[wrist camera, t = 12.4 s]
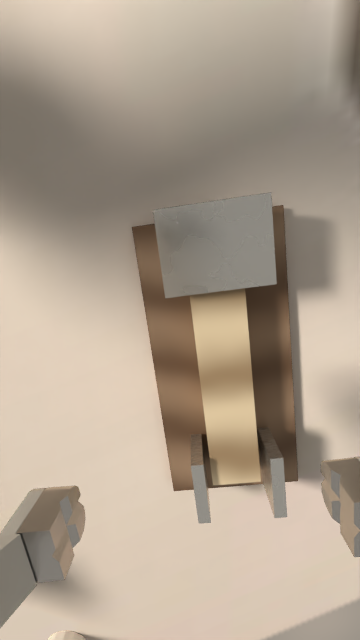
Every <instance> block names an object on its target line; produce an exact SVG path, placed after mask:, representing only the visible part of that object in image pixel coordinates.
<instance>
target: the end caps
mask: <svg viewBox="0 0 360 640" xmlns="http://www.w3.org/2000/svg"><path fill="white" fill-rule="evenodd" d="M153 215H154V222H155V229H156V236H157V243H158V250H159V257H160V264H161V271H162V278H163V285H164V292H165V298H172V297H180V296H187V295H195V294H203V293H211V292H219V291H227V290H235V289H242V288H250V287H258V286H266V285H274V284H277V280H276V264H275V247H274V231H273V214H272V198H271V192H270V193H264V194H257V195H250V196H243V197H237V198H230V199H223V200H217V201H210V202H203V203H196V204H190V205H183V206H176V207H170V208H163V209H156V210H153ZM257 429H258V441H259V452H260V464H261V476H262V482H263V485H264V488H265V491H266V494H267V497H268V500H269V503H270V506H271V509H272V512H273V515H274V518H281V517H287V508H286V492H285V477H284V461H283V456H282V454H281V452H280V450H279V448H278V446H277V444H276V442H275V440H274V438H273V436H272V433H271V431H270V429H269V427H265V428H257ZM191 472H192V479H193V486H194V493H195V500H196V507H197V514H198V521H199V523H211V518H210V505H209V493H208V482H207V474H206V466H205V458H204V451H203V443H202V435H201V434H191Z"/></svg>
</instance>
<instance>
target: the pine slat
mask: <svg viewBox="0 0 360 640" xmlns="http://www.w3.org/2000/svg"><path fill="white" fill-rule="evenodd" d="M190 303H191V311H192V319H193V327H194V335H195V343H196V351H197V359H198V368H199V376H200V384H201V392H202V400H203V408H204V416H205V424H206V432H207V441H208V449H209V457H210V465H211V473H212V481H213V485H226V484H238V483H251V482H261V476H260V464H259V452H258V440H257V428H256V416H255V403H254V391H253V379H252V367H251V355H250V343H249V331H248V319H247V306H246V294H245V288H242V289H235V290H227V291H219V292H211V293H203V294H195V295H190Z"/></svg>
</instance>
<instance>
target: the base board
mask: <svg viewBox="0 0 360 640" xmlns="http://www.w3.org/2000/svg"><path fill="white" fill-rule="evenodd" d="M272 214H273V231H274V247H275V264H276V280H277V284H274V285H266V286H258V287H250V288H245V294H246V306H247V319H248V331H249V343H250V355H251V367H252V379H253V391H254V403H255V416H256V428H265V427H269V429H270V431H271V433H272V436H273V438H274V440H275V442H276V444H277V446H278V448H279V450H280V452H281V454H282V456H283V461H284V477H285V482H292V481H298V471H297V452H296V433H295V415H294V396H293V377H292V358H291V339H290V321H289V302H288V283H287V264H286V245H285V227H284V208H283V205H281V206H274V207H272ZM132 230H133V237H134V243H135V249H136V256H137V262H138V268H139V274H140V281H141V287H142V293H143V300H144V306H145V312H146V319H147V325H148V331H149V337H150V344H151V350H152V356H153V363H154V369H155V375H156V381H157V388H158V394H159V400H160V407H161V413H162V419H163V425H164V432H165V438H166V444H167V451H168V457H169V463H170V470H171V476H172V482H173V488H174V491H180V490H193V489H194V486H193V479H192V472H191V434H201V435H202V443H203V451H204V458H205V466H206V474H207V482H208V488H218V487H230V486H242V485H255V484H263V482H262V476H261V464H260V452H259V441H258V452H259V464H260V476H261V482H251V483H238V484H226V485H213V481H212V473H211V465H210V457H209V449H208V441H207V432H206V424H205V416H204V408H203V400H202V392H201V384H200V376H199V368H198V359H197V351H196V343H195V335H194V327H193V319H192V311H191V303H190V295H187V296H180V297H172V298H165V292H164V285H163V278H162V271H161V264H160V257H159V250H158V243H157V236H156V229H155V224H150V225H143V226H136V227H132ZM257 440H258V429H257Z"/></svg>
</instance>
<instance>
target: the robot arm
mask: <svg viewBox="0 0 360 640" xmlns="http://www.w3.org/2000/svg"><path fill="white" fill-rule="evenodd" d="M321 473H322V474H323V476H324V477H325V479H324V480H323V482H322V483H321V486H322V494H323V498H324V502H325V505H326V507H327V509H328V511H329V513H330V515H331V517H332V518H333V519H334V520H335V521H337V522H338V523H340V531H341V535H342V536H343V538H344V540H345V542H346V543H347V545H348V547H349V549H350V550H351V552H352V554H353V556H354V557H360V457H354V458H344V459H335V460H326V461H322V462H321ZM79 497H80V492H79V488H78V487H77V486H63V487H49V488H40V489H33V490H31V491H30V492H29V493H28V494H27V496H26V497H25V498H24V500H23V501H22V503H21V504H20V506H19V507H18V508H17V510H16V511H15V513H14V514H13V516H12V517H11V519H10V520H9V521H8V523H7V524H6V526H5V527H4V529H3V530H2V531H1V533H0V628H1V627H2V626H3V625H4V623H5V622H6V621H7V620H8V619H9V617H10V616H11V615H12V614H13V613H14V611H15V610H16V609H17V608H18V607H19V606H20V604H21V603H22V602H23V601H24V600H25V598H26V597H27V596H28V595H29V594H30V593H31V591H32V590H33V589H34V588H35V587H36V585H37V584H36V583H42V582H50V581H59V580H65V578H66V575H67V573H68V570H69V568H70V565H71V563H72V560H73V557H74V552H73V547H74V546H75V545H76V544H77V543H78V542H79V541H80V539H81V537H82V534H83V531H84V525H85V510H84V506H83V505H82V504H81V503H80V502H78V499H79Z"/></svg>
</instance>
